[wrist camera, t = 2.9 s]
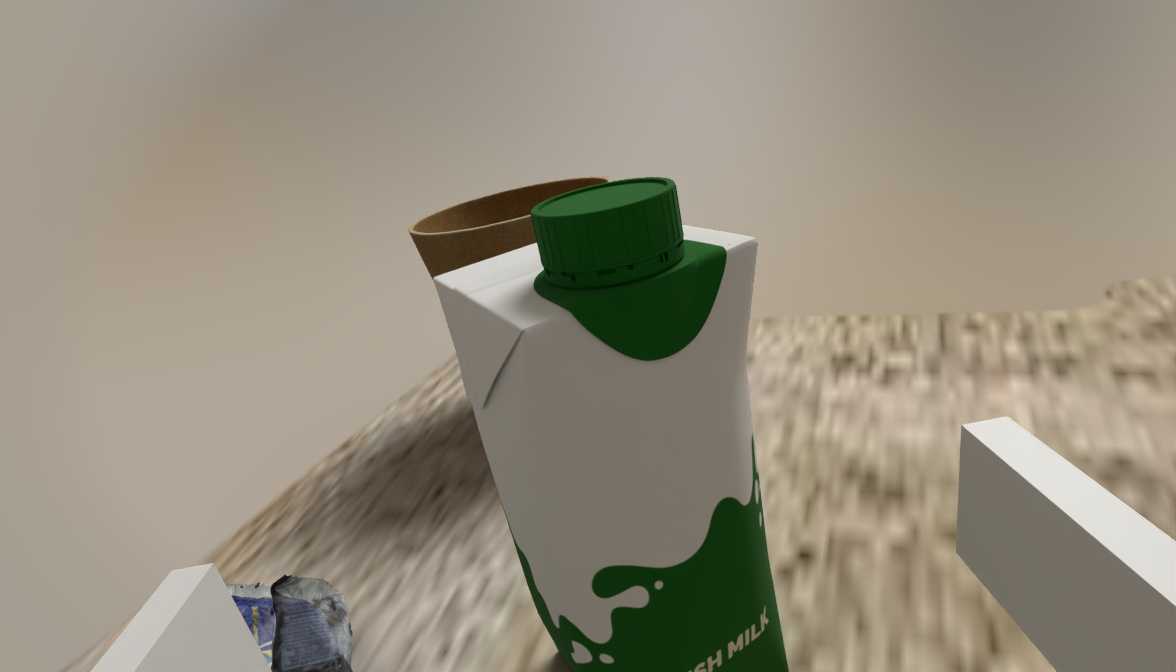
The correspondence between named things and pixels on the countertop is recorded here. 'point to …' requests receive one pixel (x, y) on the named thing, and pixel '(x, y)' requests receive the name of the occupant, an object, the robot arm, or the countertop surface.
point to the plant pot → (486, 225)
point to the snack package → (297, 624)
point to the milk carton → (624, 430)
